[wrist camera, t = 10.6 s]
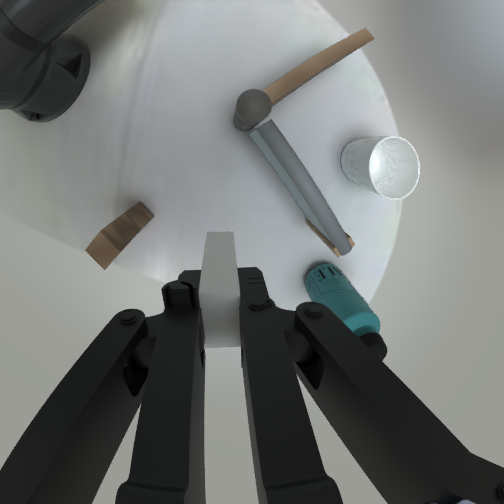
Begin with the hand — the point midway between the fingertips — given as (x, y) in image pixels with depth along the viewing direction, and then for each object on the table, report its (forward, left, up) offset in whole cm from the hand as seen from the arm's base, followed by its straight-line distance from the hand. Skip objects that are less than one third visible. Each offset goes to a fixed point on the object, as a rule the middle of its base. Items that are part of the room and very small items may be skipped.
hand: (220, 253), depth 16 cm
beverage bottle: (+20, +3, -23) cm, 31 cm away
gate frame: (-6, +6, -23) cm, 24 cm away
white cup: (+9, +19, -23) cm, 31 cm away
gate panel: (+4, +8, -22) cm, 24 cm away
